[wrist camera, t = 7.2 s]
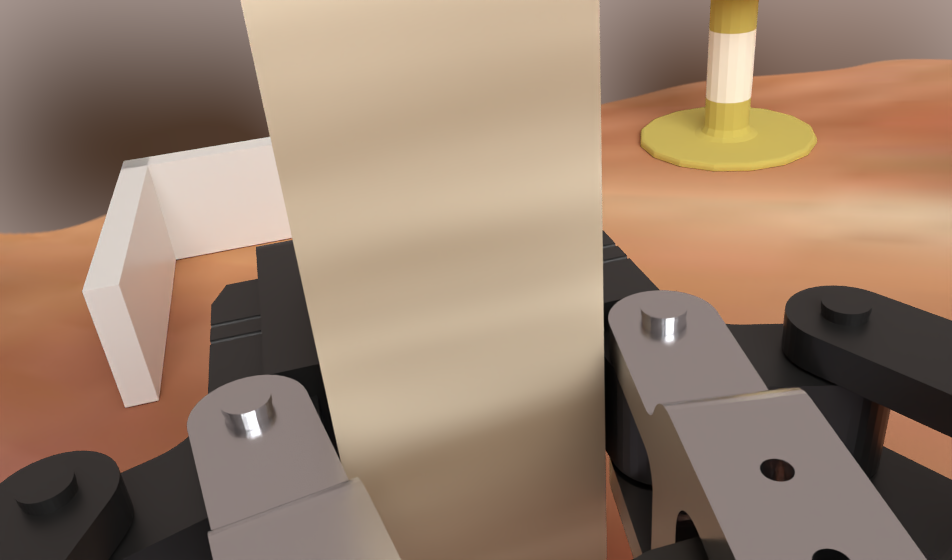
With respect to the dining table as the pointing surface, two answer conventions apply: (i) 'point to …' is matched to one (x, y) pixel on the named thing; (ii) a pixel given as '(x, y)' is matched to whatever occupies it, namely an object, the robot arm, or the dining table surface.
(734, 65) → the candle
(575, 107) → the scraper
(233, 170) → the box
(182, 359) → the dining table surface
